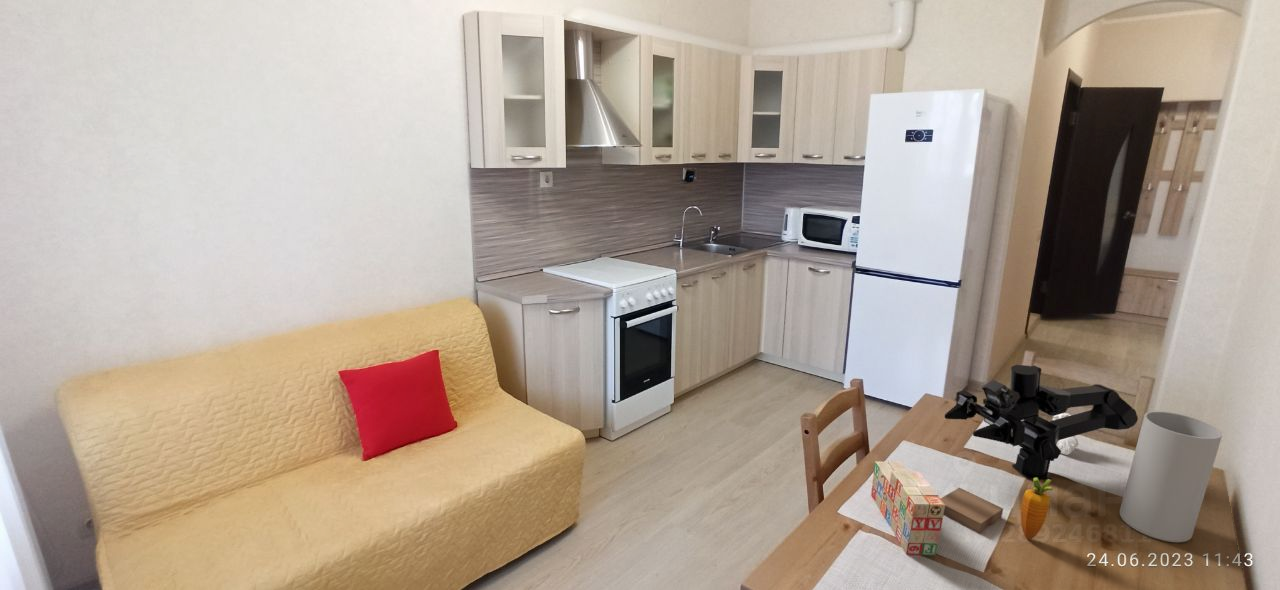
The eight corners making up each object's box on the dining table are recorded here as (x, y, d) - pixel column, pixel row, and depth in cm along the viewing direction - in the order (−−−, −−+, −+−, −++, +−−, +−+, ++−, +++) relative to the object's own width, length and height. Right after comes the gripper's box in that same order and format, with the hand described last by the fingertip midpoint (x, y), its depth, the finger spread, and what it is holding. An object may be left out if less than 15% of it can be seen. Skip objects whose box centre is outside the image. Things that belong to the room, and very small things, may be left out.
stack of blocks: (869, 495, 143) (876, 449, 140) (896, 496, 143) (902, 450, 140) (906, 555, 123) (914, 503, 120) (936, 556, 123) (946, 504, 120)
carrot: (1038, 535, 130) (1051, 473, 126) (1044, 549, 125) (1059, 486, 121) (1012, 530, 131) (1024, 469, 128) (1017, 543, 127) (1031, 481, 123)
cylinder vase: (1117, 527, 133) (1144, 425, 127) (1119, 502, 142) (1144, 406, 136) (1192, 552, 125) (1224, 445, 119) (1189, 524, 135) (1219, 423, 128)
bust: (1074, 465, 163) (1099, 431, 163) (1062, 453, 160) (1087, 419, 160) (1033, 444, 174) (1056, 413, 174) (1021, 432, 171) (1044, 401, 171)
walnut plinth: (957, 496, 143) (959, 487, 143) (1001, 518, 135) (1003, 508, 135) (934, 510, 138) (936, 500, 137) (978, 533, 130) (980, 523, 129)
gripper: (984, 365, 154) (931, 379, 150) (1048, 395, 136) (990, 412, 133) (983, 404, 157) (931, 419, 154) (1045, 438, 139) (989, 455, 136)
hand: (958, 425), depth 144 cm, fingers open, 9 cm apart
